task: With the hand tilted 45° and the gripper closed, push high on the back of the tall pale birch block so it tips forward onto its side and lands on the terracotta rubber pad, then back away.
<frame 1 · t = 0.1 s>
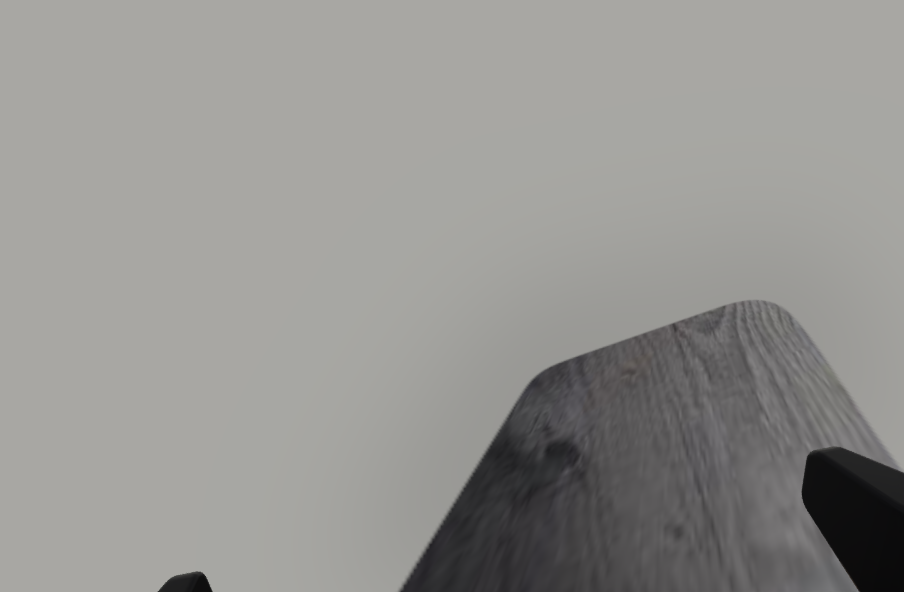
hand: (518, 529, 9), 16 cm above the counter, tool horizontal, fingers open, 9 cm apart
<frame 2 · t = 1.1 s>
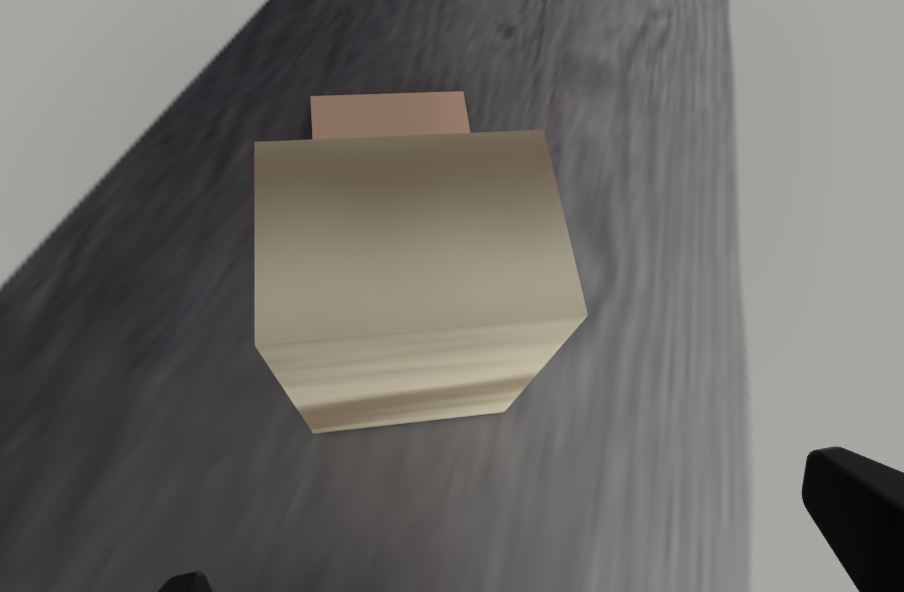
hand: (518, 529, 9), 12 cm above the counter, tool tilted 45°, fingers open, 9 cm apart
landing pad: (398, 184, 25), on the counter
birch block: (404, 357, 22), on the counter
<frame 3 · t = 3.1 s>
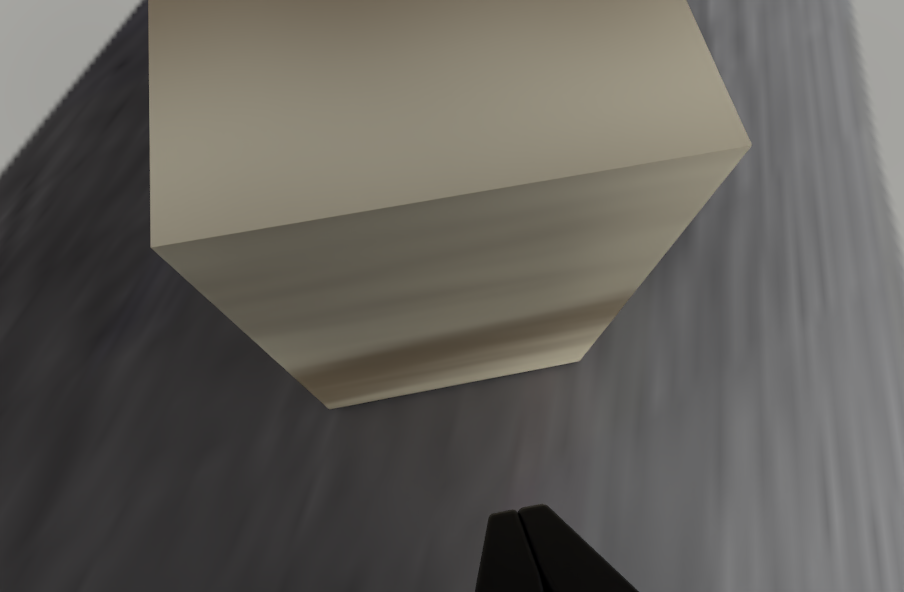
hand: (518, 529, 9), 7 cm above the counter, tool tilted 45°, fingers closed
birch block: (439, 301, 17), on the counter
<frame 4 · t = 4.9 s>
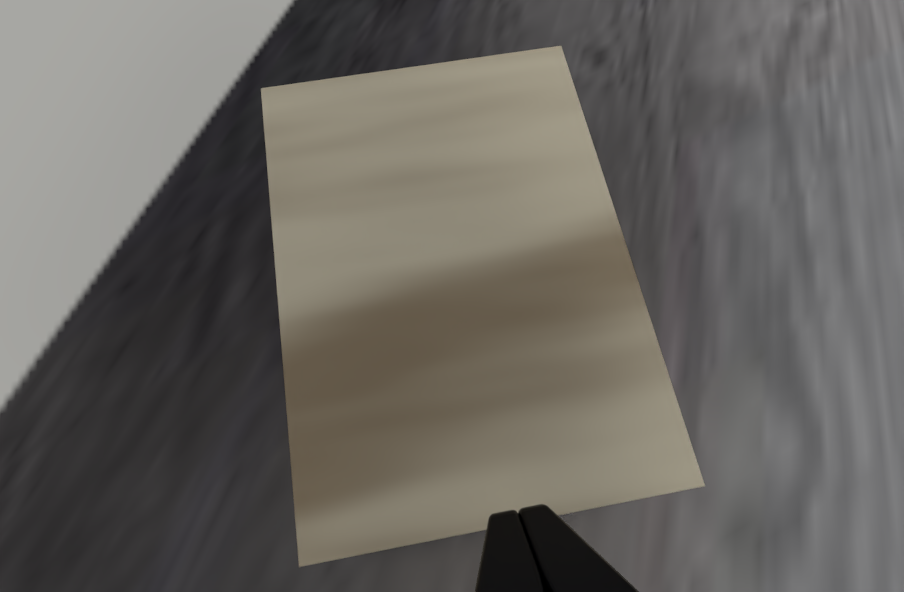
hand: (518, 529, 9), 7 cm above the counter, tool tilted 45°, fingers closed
birch block: (496, 525, 12), point 3 cm above the counter, tilted 90°, touching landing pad
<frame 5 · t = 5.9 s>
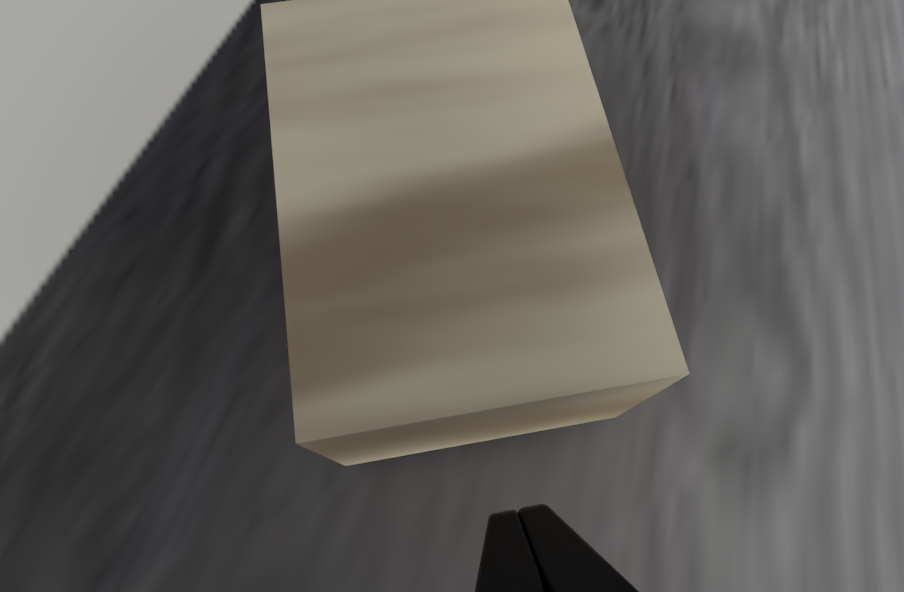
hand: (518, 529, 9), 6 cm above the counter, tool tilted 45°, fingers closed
birch block: (488, 427, 12), point 3 cm above the counter, tilted 90°, touching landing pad
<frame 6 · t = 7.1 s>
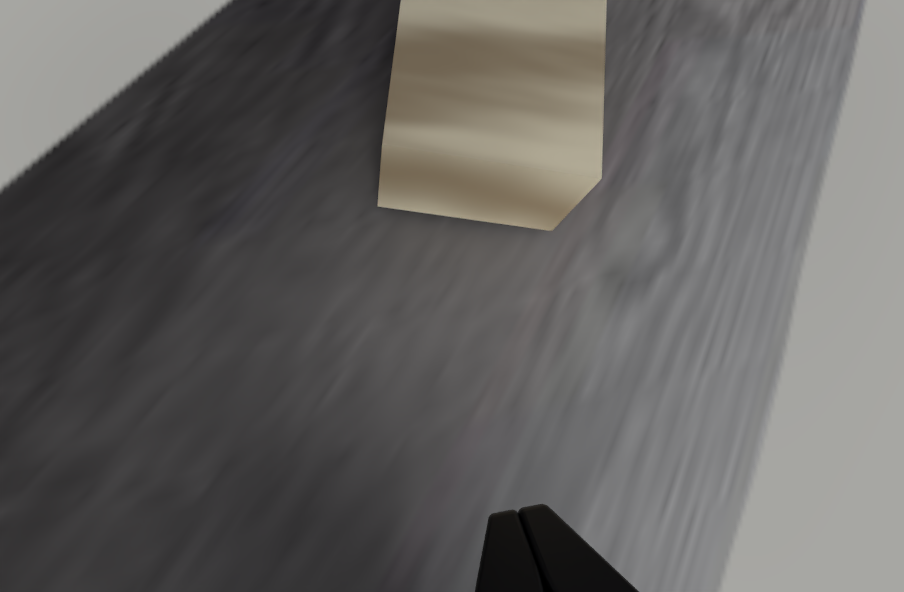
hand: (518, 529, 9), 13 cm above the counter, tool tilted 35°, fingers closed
birch block: (478, 193, 20), point 3 cm above the counter, tilted 90°, touching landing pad
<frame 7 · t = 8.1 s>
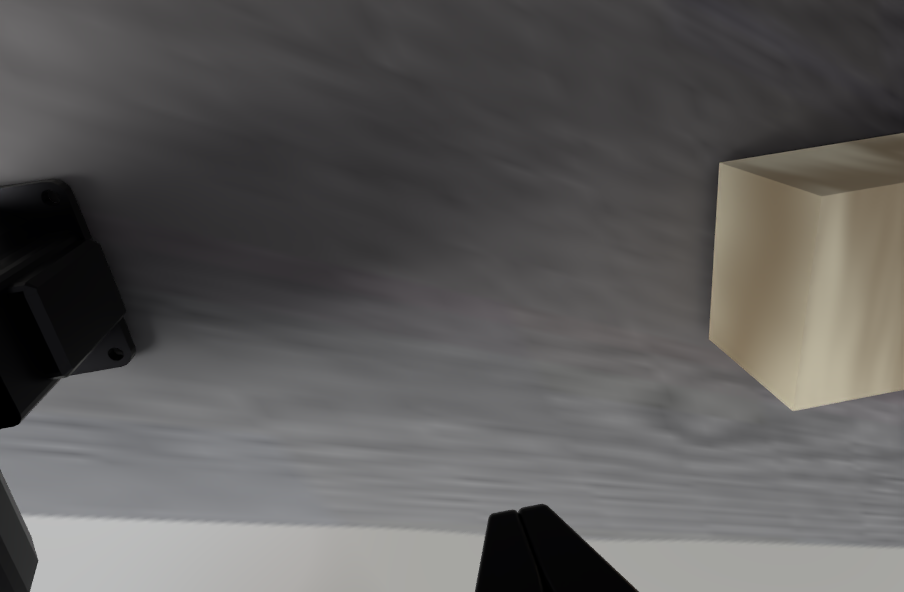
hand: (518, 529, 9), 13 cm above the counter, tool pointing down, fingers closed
birch block: (754, 281, 19), point 3 cm above the counter, tilted 90°, touching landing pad
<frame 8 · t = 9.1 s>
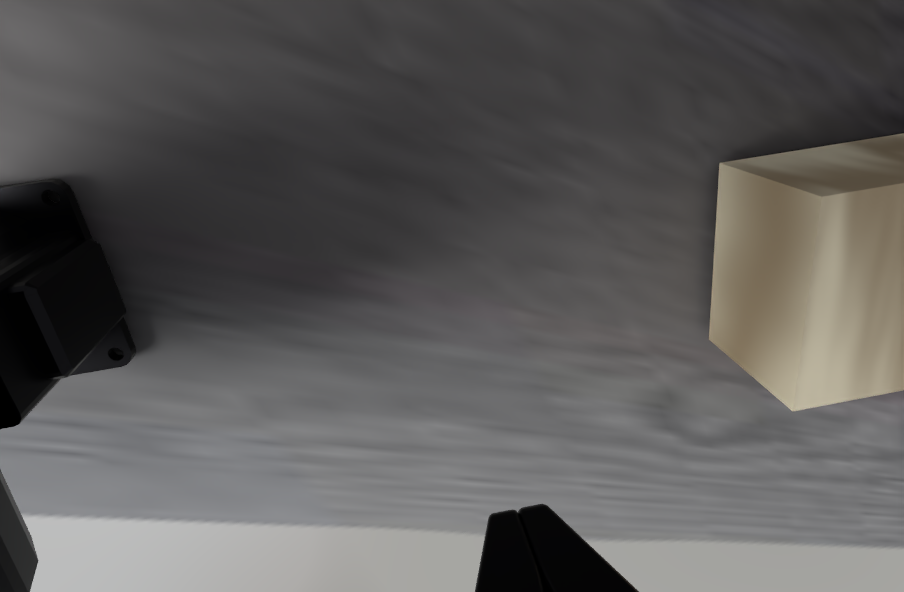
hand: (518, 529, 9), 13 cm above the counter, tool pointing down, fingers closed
birch block: (754, 281, 19), point 3 cm above the counter, tilted 90°, touching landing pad
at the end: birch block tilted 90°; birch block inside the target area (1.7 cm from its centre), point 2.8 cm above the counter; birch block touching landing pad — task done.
